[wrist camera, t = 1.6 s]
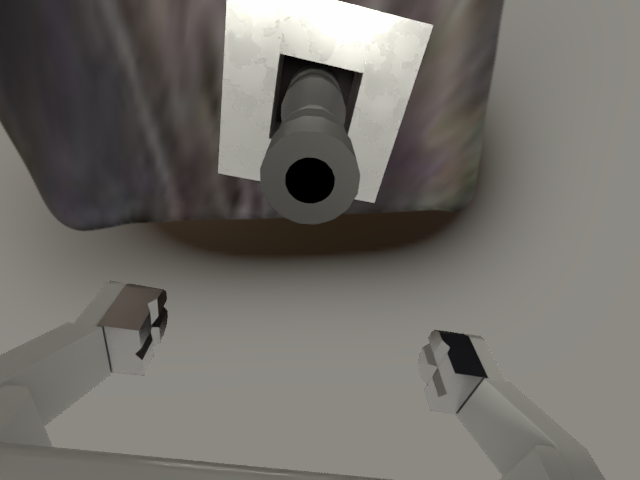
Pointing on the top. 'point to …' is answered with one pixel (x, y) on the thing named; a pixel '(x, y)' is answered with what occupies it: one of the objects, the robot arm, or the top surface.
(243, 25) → the sleeve block
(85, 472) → the robot arm
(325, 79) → the candle holder
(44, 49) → the top surface
